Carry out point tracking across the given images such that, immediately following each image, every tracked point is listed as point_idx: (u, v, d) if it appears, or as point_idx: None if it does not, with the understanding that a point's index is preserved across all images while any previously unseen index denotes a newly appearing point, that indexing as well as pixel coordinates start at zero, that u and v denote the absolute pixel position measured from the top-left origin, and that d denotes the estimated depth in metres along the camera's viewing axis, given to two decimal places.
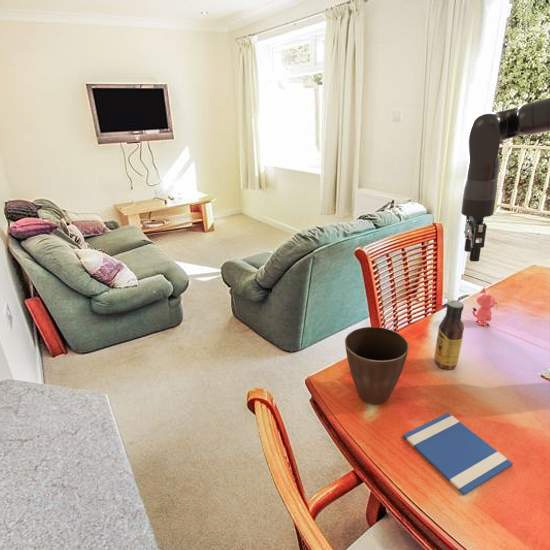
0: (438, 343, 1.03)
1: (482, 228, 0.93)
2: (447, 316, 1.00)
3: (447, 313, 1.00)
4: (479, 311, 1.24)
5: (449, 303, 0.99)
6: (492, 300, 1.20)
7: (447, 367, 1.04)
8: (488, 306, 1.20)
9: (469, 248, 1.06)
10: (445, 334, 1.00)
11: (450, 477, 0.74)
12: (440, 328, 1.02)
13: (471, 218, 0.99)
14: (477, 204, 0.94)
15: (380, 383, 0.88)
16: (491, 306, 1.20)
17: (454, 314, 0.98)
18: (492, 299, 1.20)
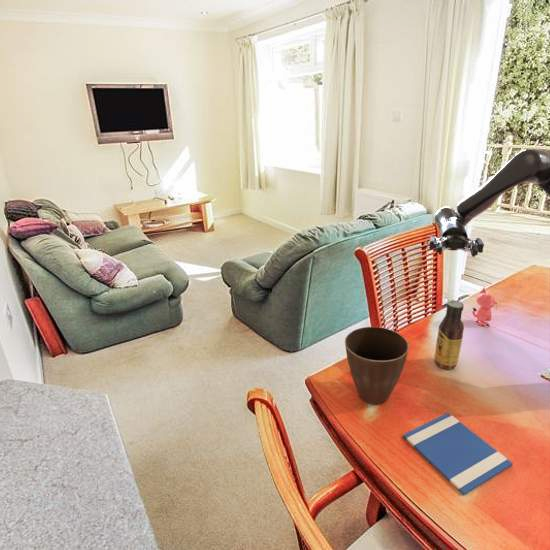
0: (438, 343, 1.03)
1: None
2: (447, 316, 1.00)
3: (447, 313, 1.00)
4: (479, 311, 1.24)
5: (449, 303, 0.99)
6: (492, 300, 1.20)
7: (447, 367, 1.04)
8: (488, 306, 1.20)
9: (472, 252, 1.04)
10: (445, 334, 1.00)
11: (450, 477, 0.74)
12: (440, 328, 1.02)
13: None
14: (440, 238, 1.18)
15: (380, 383, 0.88)
16: (491, 306, 1.20)
17: (454, 314, 0.98)
18: (492, 299, 1.20)
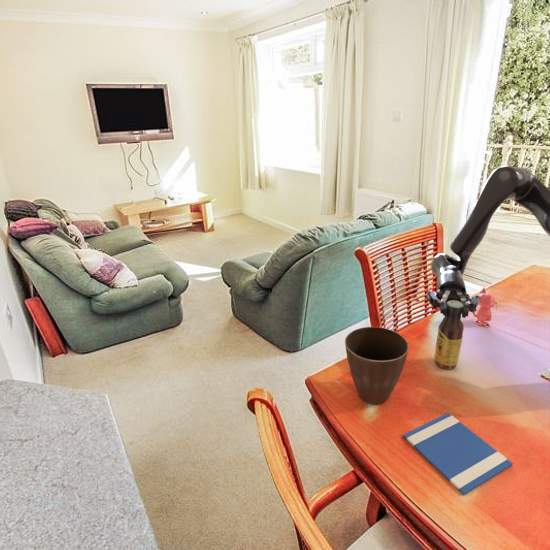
0: (438, 343, 1.03)
1: (427, 294, 1.07)
2: (447, 316, 1.00)
3: (447, 313, 1.00)
4: (479, 311, 1.24)
5: (449, 303, 0.99)
6: (492, 300, 1.20)
7: (447, 367, 1.04)
8: (488, 306, 1.20)
9: (462, 312, 0.97)
10: (444, 334, 1.00)
11: (450, 477, 0.74)
12: (440, 328, 1.02)
13: None
14: None
15: (380, 383, 0.88)
16: (491, 306, 1.20)
17: (454, 314, 0.98)
18: (492, 299, 1.20)
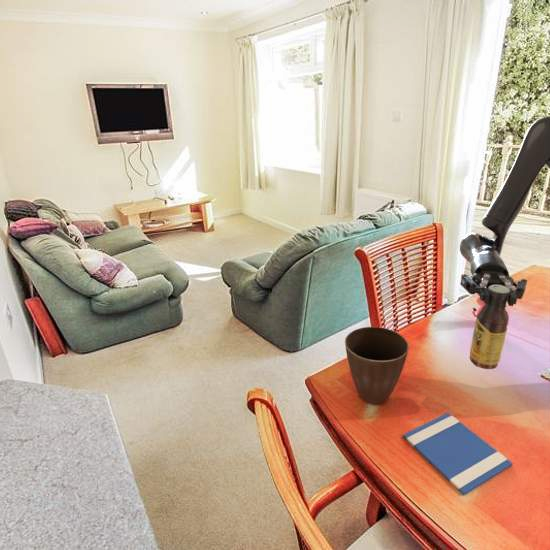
0: (476, 337, 0.85)
1: (462, 279, 0.88)
2: (488, 304, 0.81)
3: None
4: (479, 311, 1.24)
5: (491, 288, 0.80)
6: None
7: (486, 366, 0.85)
8: None
9: (509, 299, 0.79)
10: (485, 326, 0.82)
11: (450, 477, 0.74)
12: (479, 319, 0.83)
13: None
14: None
15: (380, 383, 0.88)
16: None
17: (498, 301, 0.79)
18: None
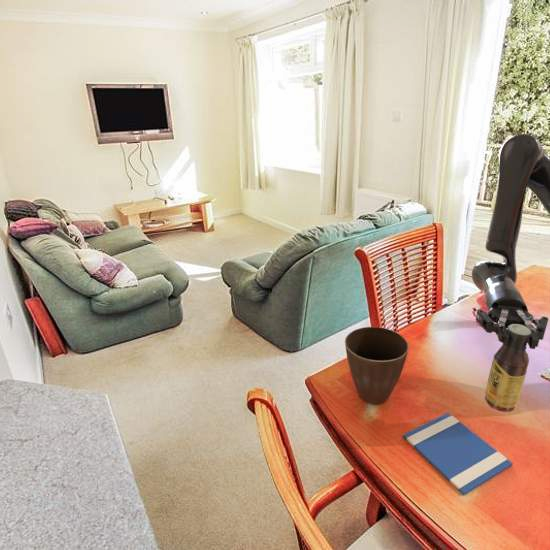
0: (492, 379, 0.79)
1: (477, 314, 0.83)
2: (507, 345, 0.75)
3: None
4: None
5: (511, 328, 0.74)
6: None
7: (503, 409, 0.80)
8: None
9: (530, 341, 0.73)
10: (503, 368, 0.76)
11: (450, 477, 0.74)
12: (496, 360, 0.78)
13: None
14: (487, 306, 0.88)
15: (380, 383, 0.88)
16: None
17: (518, 343, 0.74)
18: None
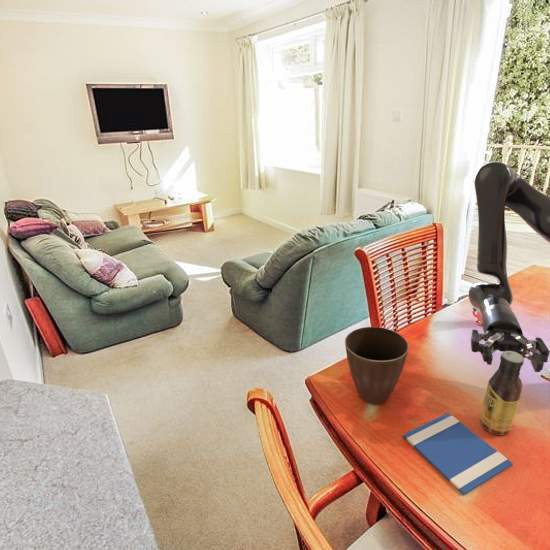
0: (487, 403, 0.82)
1: None
2: (501, 371, 0.78)
3: (501, 368, 0.78)
4: None
5: (504, 355, 0.77)
6: None
7: (498, 433, 0.82)
8: None
9: (535, 365, 0.75)
10: (498, 393, 0.79)
11: (450, 477, 0.74)
12: (491, 385, 0.80)
13: None
14: (483, 329, 0.90)
15: (380, 383, 0.88)
16: None
17: (511, 370, 0.76)
18: None
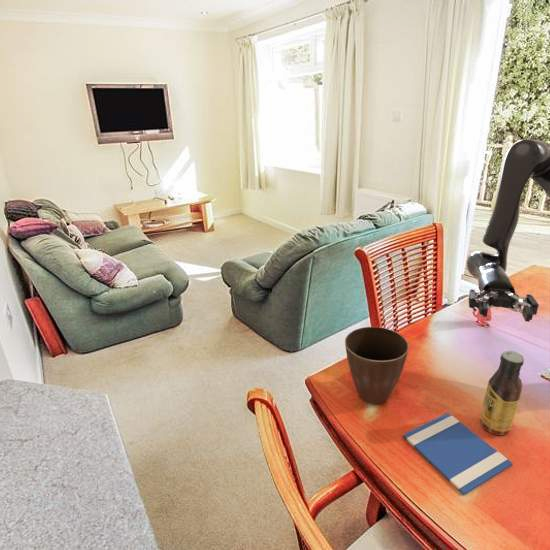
0: (487, 403, 0.82)
1: (469, 293, 0.95)
2: (501, 371, 0.78)
3: (501, 368, 0.78)
4: None
5: (504, 355, 0.77)
6: None
7: (498, 433, 0.82)
8: None
9: (525, 315, 0.85)
10: (498, 393, 0.79)
11: (450, 477, 0.74)
12: (491, 385, 0.80)
13: None
14: None
15: (380, 383, 0.88)
16: None
17: (511, 369, 0.76)
18: None
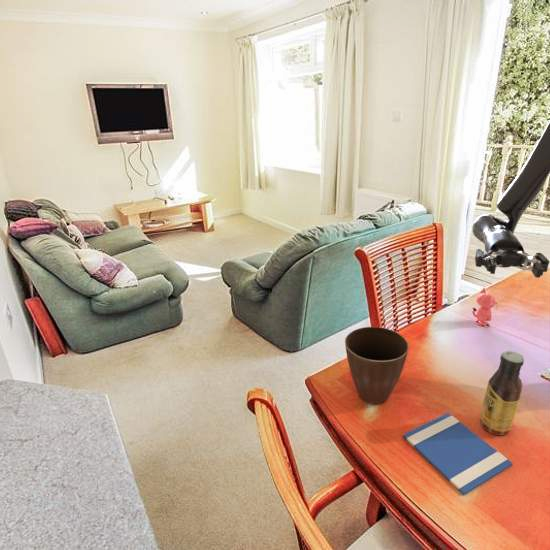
0: (487, 403, 0.82)
1: None
2: (501, 371, 0.78)
3: (501, 368, 0.78)
4: (479, 311, 1.24)
5: (504, 355, 0.77)
6: (492, 300, 1.20)
7: (498, 433, 0.82)
8: (488, 306, 1.20)
9: (535, 271, 0.81)
10: (498, 393, 0.79)
11: (450, 477, 0.74)
12: (491, 385, 0.80)
13: None
14: (486, 251, 0.95)
15: (380, 383, 0.88)
16: (491, 306, 1.20)
17: (511, 369, 0.76)
18: (492, 299, 1.20)
